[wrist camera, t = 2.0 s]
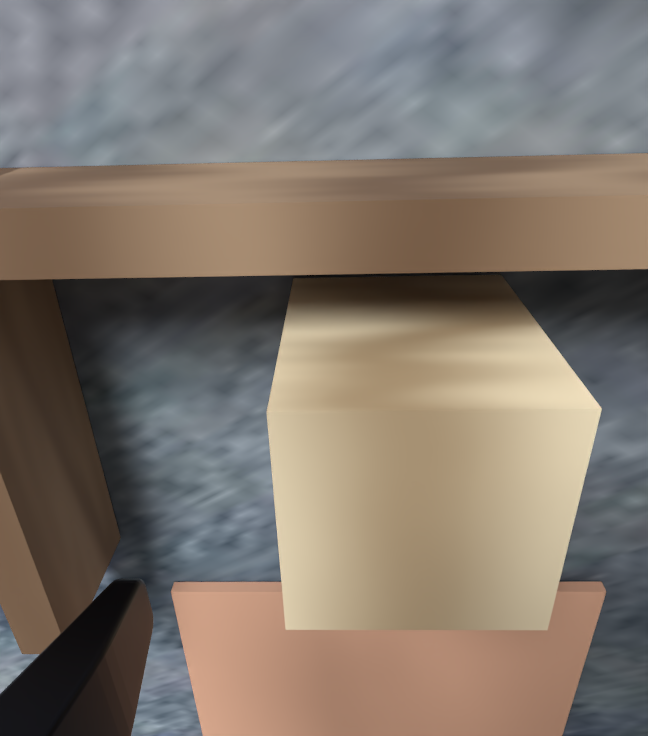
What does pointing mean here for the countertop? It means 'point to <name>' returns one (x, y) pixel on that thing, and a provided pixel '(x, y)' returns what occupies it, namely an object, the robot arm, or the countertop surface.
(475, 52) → the countertop surface
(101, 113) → the countertop surface
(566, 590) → the mat
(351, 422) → the maple block
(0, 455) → the open side box
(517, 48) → the countertop surface
